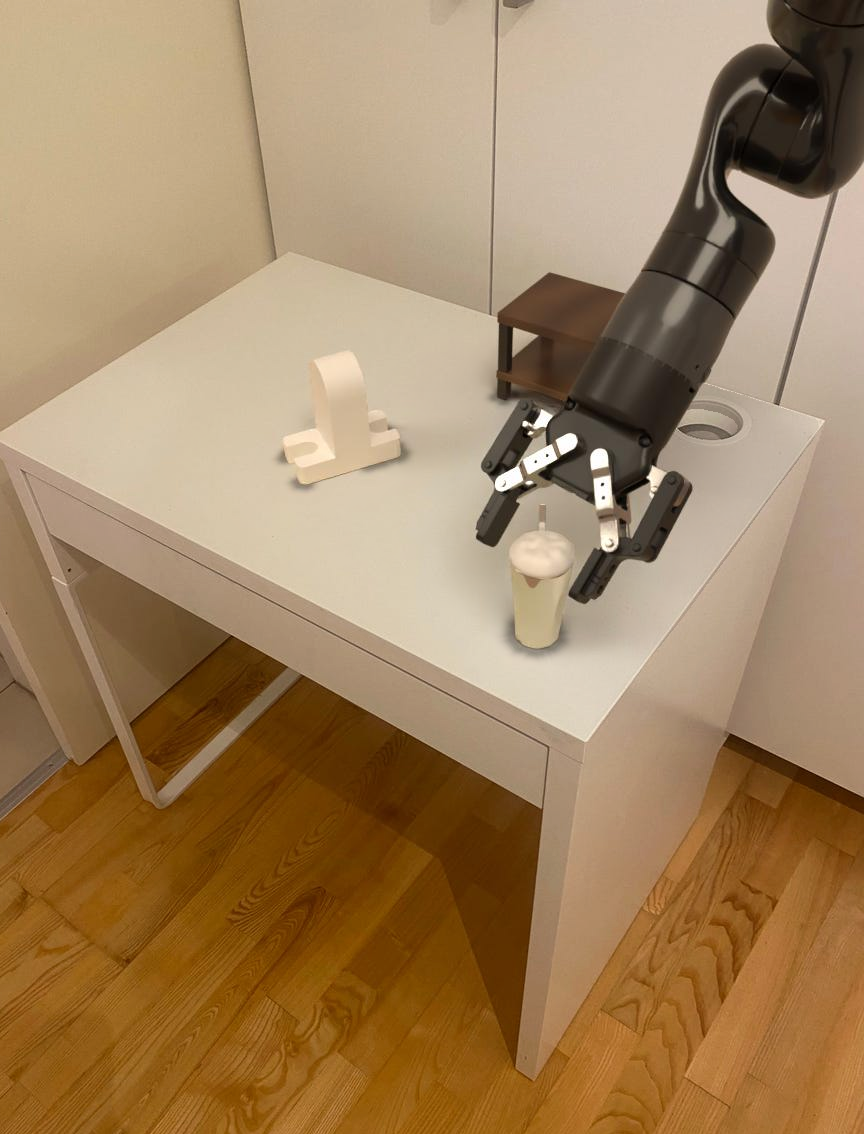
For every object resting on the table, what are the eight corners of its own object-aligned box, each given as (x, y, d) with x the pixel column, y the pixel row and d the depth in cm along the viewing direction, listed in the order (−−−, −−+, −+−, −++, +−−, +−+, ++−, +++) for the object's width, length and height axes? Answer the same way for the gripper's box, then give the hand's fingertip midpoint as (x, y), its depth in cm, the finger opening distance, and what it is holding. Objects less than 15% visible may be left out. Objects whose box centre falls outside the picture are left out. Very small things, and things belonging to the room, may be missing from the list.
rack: (651, 390, 96) (664, 303, 89) (604, 436, 91) (615, 349, 84) (544, 355, 101) (549, 271, 95) (495, 397, 97) (497, 312, 90)
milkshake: (565, 605, 76) (576, 504, 69) (568, 656, 73) (578, 555, 66) (506, 604, 77) (510, 503, 70) (505, 654, 73) (509, 554, 66)
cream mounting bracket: (403, 455, 91) (397, 358, 84) (301, 485, 89) (286, 389, 82) (381, 426, 94) (374, 330, 87) (283, 454, 92) (267, 359, 85)
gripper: (544, 304, 67) (429, 516, 70) (727, 380, 59) (588, 614, 63) (588, 343, 73) (480, 536, 76) (758, 417, 65) (630, 628, 69)
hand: (529, 571), depth 69 cm, fingers open, 8 cm apart
